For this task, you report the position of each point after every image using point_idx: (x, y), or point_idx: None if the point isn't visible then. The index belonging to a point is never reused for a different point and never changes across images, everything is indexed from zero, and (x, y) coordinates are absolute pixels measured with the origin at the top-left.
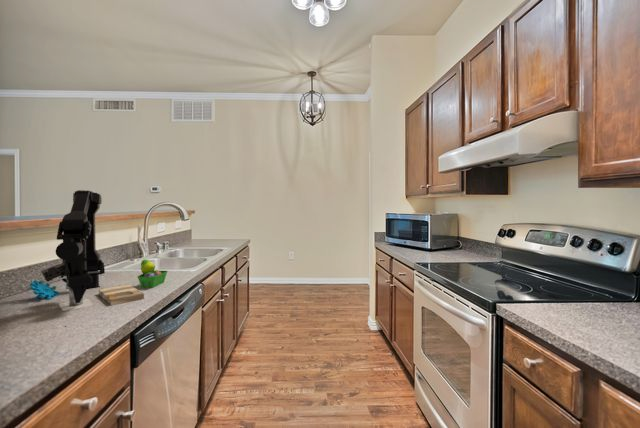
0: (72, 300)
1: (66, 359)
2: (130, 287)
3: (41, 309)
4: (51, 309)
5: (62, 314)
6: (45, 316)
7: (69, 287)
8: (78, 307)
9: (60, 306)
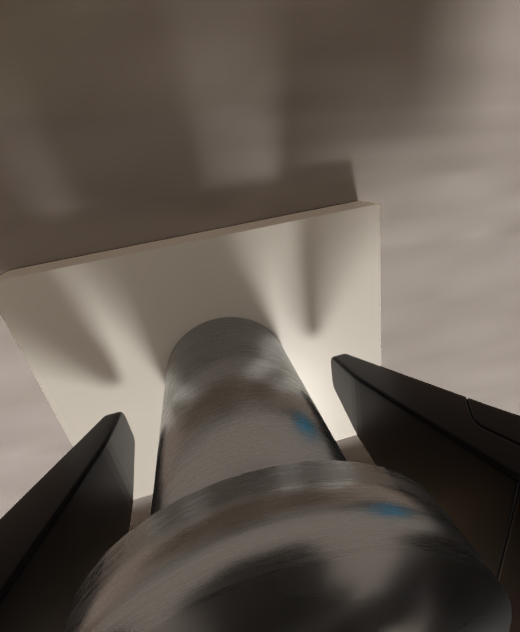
0: (166, 392)
1: None
2: None
3: (408, 19)
4: (329, 134)
5: (40, 262)
6: (35, 81)
7: (82, 629)
8: (84, 408)
9: (242, 234)
